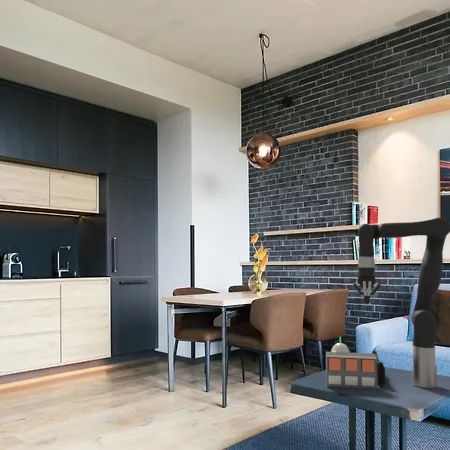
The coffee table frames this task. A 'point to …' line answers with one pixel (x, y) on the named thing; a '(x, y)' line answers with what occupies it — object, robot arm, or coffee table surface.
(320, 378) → the coffee table surface
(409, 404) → the coffee table surface
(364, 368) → the switch
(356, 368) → the switch
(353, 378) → the dark grey block
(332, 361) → the switch
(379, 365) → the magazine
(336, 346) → the smoothie
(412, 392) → the coffee table surface
